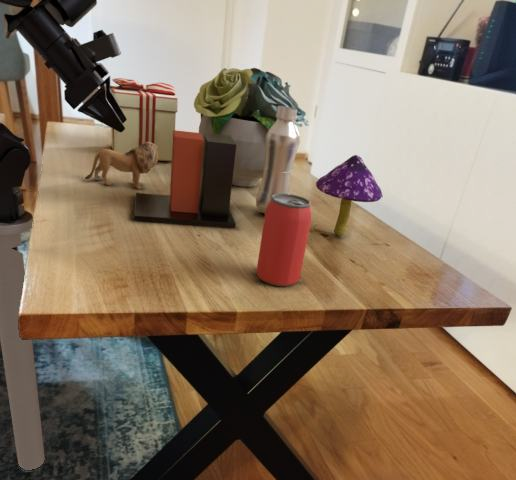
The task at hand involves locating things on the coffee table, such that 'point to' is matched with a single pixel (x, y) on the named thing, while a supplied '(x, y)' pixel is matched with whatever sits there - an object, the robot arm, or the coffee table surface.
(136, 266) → the coffee table surface
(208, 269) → the coffee table surface
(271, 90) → the flower arrangement
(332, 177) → the decorative mushroom
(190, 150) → the tall terracotta column
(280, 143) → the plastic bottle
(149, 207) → the seat plate
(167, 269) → the coffee table surface
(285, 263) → the beer can
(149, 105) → the gift box
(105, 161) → the lion figurine
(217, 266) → the coffee table surface
